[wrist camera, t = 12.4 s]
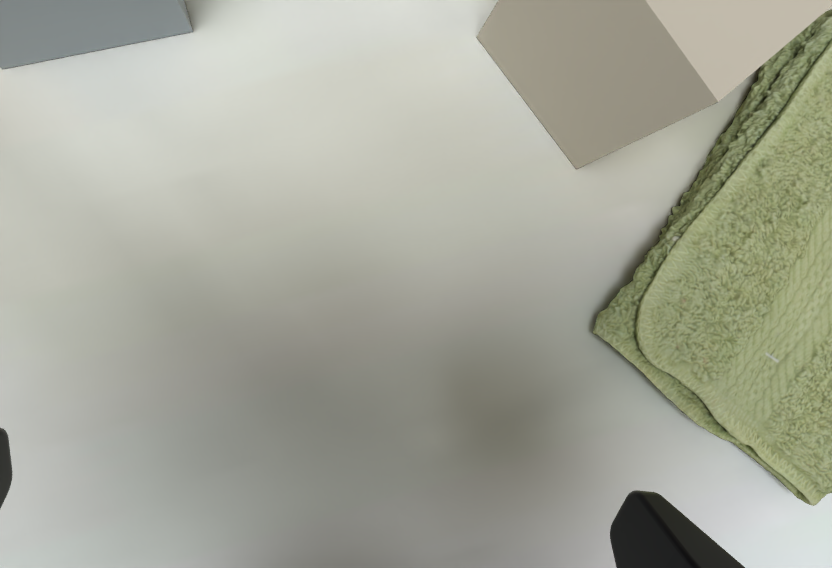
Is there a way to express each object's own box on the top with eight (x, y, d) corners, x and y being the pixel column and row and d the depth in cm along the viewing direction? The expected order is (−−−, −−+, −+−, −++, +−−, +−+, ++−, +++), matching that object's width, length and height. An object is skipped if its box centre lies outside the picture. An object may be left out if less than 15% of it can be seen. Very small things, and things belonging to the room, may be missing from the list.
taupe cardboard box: (576, 169, 24) (718, 101, 15) (476, 37, 23) (565, -111, 14) (697, 68, 24) (896, -49, 16) (604, -62, 24) (759, -256, 15)
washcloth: (567, 335, 24) (603, 343, 21) (787, 8, 26) (853, -31, 22) (795, 506, 26) (862, 537, 22) (989, 187, 27) (1076, 174, 24)
